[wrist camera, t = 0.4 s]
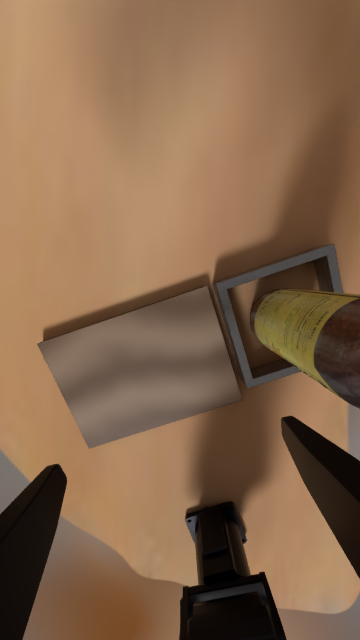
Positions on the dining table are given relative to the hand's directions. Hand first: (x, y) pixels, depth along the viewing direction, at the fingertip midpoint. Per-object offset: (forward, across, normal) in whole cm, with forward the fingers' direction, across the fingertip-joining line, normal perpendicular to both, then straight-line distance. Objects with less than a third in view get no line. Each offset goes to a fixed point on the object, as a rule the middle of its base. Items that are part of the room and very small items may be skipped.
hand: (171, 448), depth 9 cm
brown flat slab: (+14, +4, +5) cm, 16 cm away
